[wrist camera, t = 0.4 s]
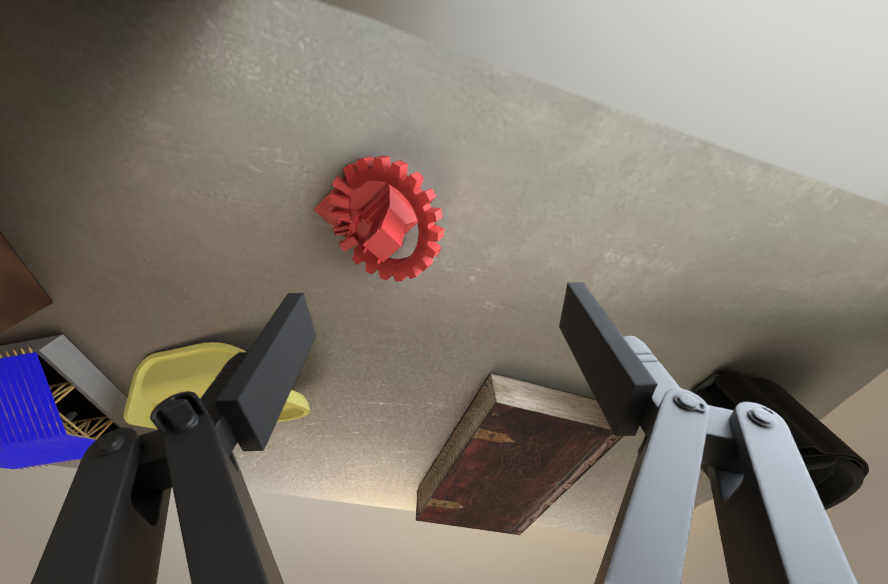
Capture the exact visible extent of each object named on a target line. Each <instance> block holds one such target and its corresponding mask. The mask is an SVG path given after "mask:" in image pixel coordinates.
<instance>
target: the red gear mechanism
mask: <svg viewBox="0 0 888 584" xmlns="http://www.w3.org/2000/svg"><path fill="white" fill-rule="evenodd" d="M407 166H408V164H406V163H404V162H403V161H401V160H400V161H397V162H394V163H392V165H391V162H390V157H388V156H379V157H375V158H374V160H373V158H372V156H371V157H367V158H363V159H362V158H361V159H359V160H357V162H356V163H353V164H349V165H347V166H346V167H345V168H343V170H344V172H345V175H346V176H345V177H344V178H343V179H342V178H340V177H338V176H336V178H335V180H334V182H333V184H332V185H333V186H334V188H333V190H332V191H331V192H330V193H329V194H328V195H327V196H326V197H325V198H324V199H323V200H322V201H321V202H320V203H319V205H318V206H317V207H316V208H315V209H314V210H315V211H316V212H317V213H318V214H319V215H320V216H321V217H323V218H324V219H325V220H326V221H327V222H328V223H329V224H331V225H332V226H333V227H334V228H333V230H334V231H335V236H336V235H341V234H342V235H343V236H344V237H345V240H344V241H343V240H342V241H340V242H341V243H339V245H340V247H341V248H342V250H343V251H346V250H348V249H350V248H352V247H354V246H356V247H357V248H356V249H355V250H354V255H353V259H352V260H353V261H354V262H355V263H356V264H359V263H360V262H362V261H364V262H365V263H366V272H368V273H370V274H373V273H374V272H376V271H377V270H378V271H379V275H380V278H381V279H384V280H388V279H389V278H390V277H391V276H393V277H394V279H395V281H403V280H404V279H405V278H406V277H407V276H408V277H409V278H410V279H412V278H414V277H416V276H417V275H418V274H420V273H421V272H422V271H424V270H426V269H427V268H428V267H429V266H430V265H431V264H432V263H433V262H434V261H433V260H432V259H431V258H434V257H435V256H436V255H437V254H439V251H440V249H441V246H439V245H438V244H437V243H436V242H435V241H439V240H440V239H441V238H442V237H443V236H444V229H443V228H441V227H439V226H437V225H435V223H434V222H435V221H437V220H439V219H440V218H442V217H443V215H442V211H441V209H440V208H431V206H430V204H429V203H430V202H431V201H432V200H433V199H434V198H435V197H436V195H435V194H434V192H433V190H432V189H429V190H426V191H422V190H421V189H420V186H421V184H422V181H423V179H424V178H423V177H422V176H421V175H420V174H419V173H418V172H416V173H414V174H411V175H410V176H407ZM417 222H418V228H419V237H418V242H417V246H416V248H415V250H414V252H413V253H412V255H411V256H409V257H406V258H402V259H392V258H389V257H390V256H391V255H392V254H393V253H394V252H395V251H397V250H398V249H399V248H400V247H401V245H402V242H403V237H404V234H405V233H406V232H407V231H409V230H410V229H411V228H412V227H413V226H414V225H415V224H416V223H417Z"/></svg>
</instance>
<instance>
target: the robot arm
mask: <svg viewBox="0 0 888 584" xmlns="http://www.w3.org/2000/svg"><path fill="white" fill-rule="evenodd" d="M559 327H560V329H561V331H562V333H563V335H564V337H565V339H566V341H567V343H568V345H569V347H570V349H571V351H572V353H573V355H574V357H575V359H576V361H577V363H578V365H579V367H580V369H581V371H582V373H583V375H584V377H585V379H586V381H587V383H588V384H589V386H590V388H591V390H592V392H593V394H594V396H595V398H596V400H597V402H598V404H599V406H600V408H601V410H602V412H603V414H604V416H605V418H606V420H607V422H608V424H609V426H610V428H611V430H612V432H613V434H614V436H635V435H636V433H637V430H638V428H639V426H641V428H642V430H643V431H644V433H645V437H644V439H643V441H642V443H641V446H640V448H639V450H638V453H639V454H638V457H637V459H636V462H635V465H634V468H633V471H632V474H631V477H630V480H629V483H628V486H627V489H626V492H625V495H624V498H623V501H622V504H621V507H620V510H619V512H618V515H617V518H616V521H615V524H614V527H613V530H612V533H611V536H610V539H609V542H608V545H607V548H606V551H605V554H604V557H603V560H602V563H601V565H600V568H599V571H598V574H597V577H596V580H595V583H594V584H680V583H681V577H682V572H683V566H684V559H685V554H686V548H687V542H688V536H689V531H690V525H691V519H692V514H693V508H694V502H695V496H696V490H697V485H698V479H699V473H700V467H701V464H704V465H707V468H708V473H709V478H710V483H711V489H712V494H713V499H714V504H715V510H716V515H717V520H718V525H719V530H720V536H721V541H722V545H723V551H724V556H725V561H726V567H727V572H728V577H729V583H730V584H857V581H856V579H855V577H854V575H853V572H852V570H851V568H850V565H849V563H848V561H847V559H846V556H845V554H844V552H843V549H842V547H841V545H840V543H839V540H838V538H837V536H836V534H835V532H834V530H833V527H832V525H831V522H830V520H829V518H828V516H827V513H826V511H825V509H824V507H823V504H822V502H821V500H820V498H819V495H818V493H817V491H816V488H815V486H814V484H813V482H812V479H811V477H810V475H809V473H808V470H807V468H806V466H805V464H804V461H803V459H802V457H801V455H800V452H799V450H798V448H797V446H796V443H795V441H794V439H793V436H792V434H791V432H790V430H789V427H788V425H787V424H786V422H785V421H784V420H783V418H781V417H780V416H779V415H778V414H777V413H776V412H774V411H772V410H771V409H769V408H767V407H765V406H762V405H760V404H757V403H752V402H742V403H739V404H738V405H737V406H736V407H735V409H734V411H733V410H728V409H723V408H719V407H714V406H710V405H707V404H706V402H705V401H704V400H703V399H702V398H700V397H699V396H698V395H696V394H694V393H692V392H690V391H688V390H684V389H681V388H680V387H679V386H678V385H677V383H676V382H675V381H674V380H673V378H672V377H671V376H670V375H669V373H668V372H667V371H666V370H665V368H664V367H663V366H662V365H661V363H660V362H658V360H657V358H656V357H655V356H654V355H652V352H651V351H650V350H649V348H648V347H647V346H646V345H645V344H644V343H643V342H642V341H640V340H639V339H637V338H636V337H634V336H622V335H621V333H620V332H619V331H618V329H617V328H616V326H615V325H614V324H613V322H612V321H611V320H610V318H609V317H608V316H607V314H606V313H605V312H604V310H603V309H602V307H601V306H600V305H599V303H598V302H597V301H596V299H595V298H594V297H593V295H592V294H591V293H590V291H589V290H588V288H587V287H586V286H585V284H584V283H583V282H579V283H568V284H567V289H566V294H565V299H564V304H563V310H562V315H561V320H560V325H559ZM315 338H316V333H315V330H314V327H313V323H312V320H311V317H310V313H309V310H308V306H307V303H306V300H305V296H304V293H288V294H287V296H286V297H285V299H284V300H283V301H282V303H281V304H280V306H279V307H278V309H277V310H276V312H275V313H274V315H273V316H272V318H271V319H270V320H269V322H268V323H267V325H266V326H265V328H264V329H263V331H262V332H261V334H260V335H259V337H258V338H257V339H256V341H255V342H254V344H253V345H252V347H251V348H250V350H249V351H248V352H238V353H237V354H236V355H235V356H233V357H232V358H231V359H229V360H228V361H227V363H226V364H225V365H224V367H223V368H222V369H221V372H219V374H218V375H217V376H216V378H215V380H213V382H212V383H211V384H210V386H209V387H208V389H207V390H206V391H205V393H204V394H203V395H202V397H201V398H199V397H198V395H197V394H196V393H195V392H190V391H186V392H180V393H177V394H174V395H171V396H170V397H168V398H166V399H164V400H163V401H161V402H160V403H159V404H158V405H157V406H156V407H155V408H154V409H153V411H152V412H151V415H150V420H151V421H152V422H153V424H154V425H155V426H156V428H157V429H158V430H156V431H152V432H149V433H145V434H142V435H138V433H137V432H136V431H135V430H134V429H132V428H126V427H124V428H120V429H116V430H113V431H111V432H109V433H107V434H105V435H103V436H102V437H100V438H99V439H97V440H96V441H95V442H94V443H93V444H91V445H90V446H89V447H88V449H87V450H86V452H85V453H84V455H83V457H82V460H81V462H80V465H79V467H78V470H77V472H76V475H75V477H74V480H73V482H72V484H71V487H70V489H69V492H68V494H67V497H66V499H65V501H64V504H63V506H62V509H61V511H60V513H59V516H58V518H57V521H56V523H55V526H54V528H53V531H52V533H51V535H50V538H49V540H48V543H47V545H46V548H45V550H44V553H43V555H42V558H41V560H40V562H39V565H38V567H37V570H36V572H35V575H34V577H33V579H32V582H31V584H156V582H157V576H158V569H159V563H160V556H161V550H162V543H163V537H164V531H165V525H166V519H167V512H168V506H169V499H170V493H171V488H172V487H173V492H174V497H175V502H176V507H177V512H178V517H179V522H180V527H181V532H182V537H183V543H184V548H185V553H186V558H187V563H188V568H189V573H190V578H191V583H192V584H284V582H283V580H282V577H281V575H280V572H279V569H278V567H277V564H276V562H275V559H274V556H273V554H272V551H271V549H270V546H269V544H268V541H267V538H266V536H265V533H264V531H263V528H262V525H261V523H260V520H259V518H258V515H257V512H256V510H255V507H254V505H253V502H252V499H251V497H250V494H249V492H248V489H247V486H246V484H245V481H244V479H243V476H242V473H241V471H240V468H239V466H238V463H237V461H236V458H235V456H234V454H233V453H232V451H233V449H234V447H235V446H236V444H237V442H238V444H239V445H240V447H241V449H242V450H243V451H264V449H265V447H266V444H267V442H268V440H269V438H270V436H271V434H272V431H273V429H274V427H275V425H276V423H277V420H278V418H279V416H280V414H281V412H282V410H283V407H284V405H285V403H286V401H287V399H288V397H289V394H290V392H291V390H292V388H293V386H294V383H295V381H296V379H297V377H298V375H299V373H300V370H301V368H302V366H303V364H304V362H305V360H306V357H307V355H308V353H309V351H310V349H311V346H312V344H313V342H314V340H315Z"/></svg>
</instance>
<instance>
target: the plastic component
mask: <svg viewBox="0 0 888 584" xmlns="http://www.w3.org/2000/svg"><path fill="white" fill-rule="evenodd" d="M238 352H245V351H244V350H242V349H239V348H237V347H234V346H232V345H229V344H224V343H214V342H212V343H201V344H196V345H191V346H187V347H182V348H177V349H172V350H168V351H163V352H158V353H153V354H151V355H149V356H148V357H146V358H145V359H144V360H143V361H142V362H141V363H140V365H139V366H138V368H137V369H136V371H135V373H134V375H133V379H132V383H131V387H130V390H129V394H128V398H127V402H126V406H125V410H124V419H125V421H126V422H127V423H128V424H131V425H137V426H142V427H148V428H154V429H157V428H156V426H155V425H154V424H153V422H152V421H151V420H150V415H151V412H152V411H153V409H154V408H155V407H156V406H157V405H158V404H159V403H160V402H161V401H163V400H164V399H166V398H168V397H170V396H171V395H174V394H177V393H180V392H186V391H190V392H195V393H196V394H197V395H198V397H199V398H201V397H202V395H203V394H204V393H205V391H206V390H207V389H208V387H209V386H210V384H211V383H212V382H213V380H215V378H216V376H217V375H218V374H219V372H221V369H222V368H223V367H224V365H225V364H226V363H227V361H228V360H229V359H231V358H232V357H233V356H235V355H236V354H237V353H238ZM308 414H309V404H308V402H307V400H306V398H305V397H304V396H303V395H302V394H300V393H298V392H295V391H293V390H291V392H290V394H289V397H288V399H287V401H286V403H285V405H284V407H283V410H282V412H281V414H280V416H279V418H278V420H277V422H282V421H288V420H293V419H298V418H302V417H305V416H307V415H308Z"/></svg>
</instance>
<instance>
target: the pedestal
mask: <svg viewBox="0 0 888 584" xmlns="http://www.w3.org/2000/svg"><path fill="white" fill-rule="evenodd" d="M50 304H52V301H51V300H50V299H49V297H48V296H47V295H46V293H45V292H44V291H43V289H42V288H41V287H40V285H39V284H38V283H37V281H36V280H35V279H34V277H33V276H32V275H31V273H30V272H29V271H28V269H27V268H26V267H25V265H24V264H23V263H22V261H21V260H20V259H19V257H18V256H17V255H16V253H15V252H14V251H13V249H12V248H11V247H10V245H9V244H8V243H7V241H6V240H5V239H4V237H3V236H2V235H1V233H0V333H1V332H3V331H5V330H6V329H8V328H10V327H12V326H13V325H15V324H17V323H19V322H20V321H22V320H24V319H26V318H27V317H29V316H31V315H33V314H34V313H36V312H38V311H39V310H41V309H43V308H45V307H46V306H48V305H50Z"/></svg>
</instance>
